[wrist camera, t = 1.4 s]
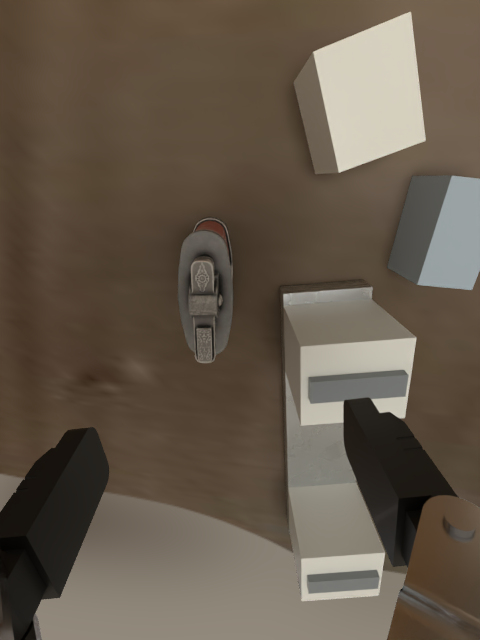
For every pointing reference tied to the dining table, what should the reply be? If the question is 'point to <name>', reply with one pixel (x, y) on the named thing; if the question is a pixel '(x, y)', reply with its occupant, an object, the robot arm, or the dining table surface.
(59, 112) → the dining table surface
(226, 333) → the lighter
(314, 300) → the rail
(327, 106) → the block
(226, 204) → the dining table surface
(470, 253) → the block
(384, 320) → the mounted modules
